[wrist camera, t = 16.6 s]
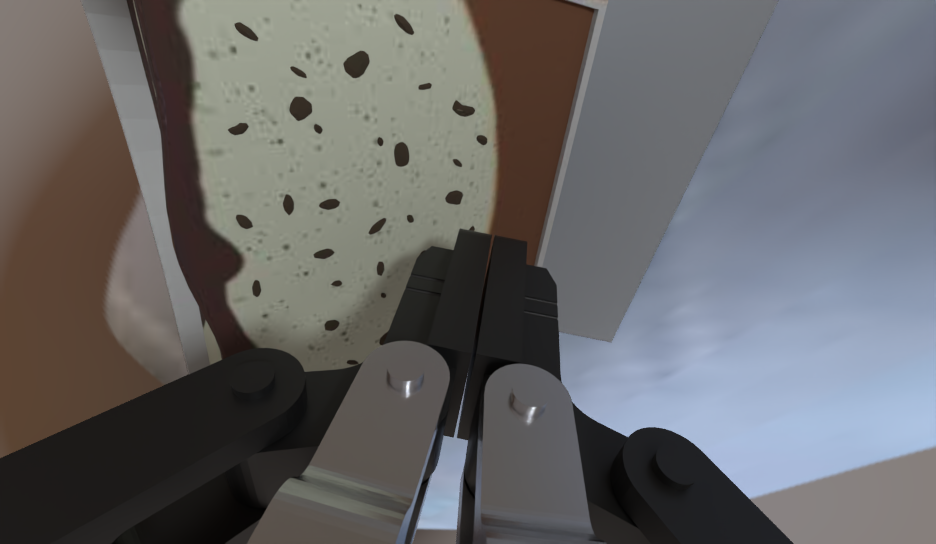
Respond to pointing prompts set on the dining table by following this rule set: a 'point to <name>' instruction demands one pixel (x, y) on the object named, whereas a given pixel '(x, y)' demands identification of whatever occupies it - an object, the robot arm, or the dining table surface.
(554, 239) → the felt mat
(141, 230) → the dining table surface
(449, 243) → the food container
